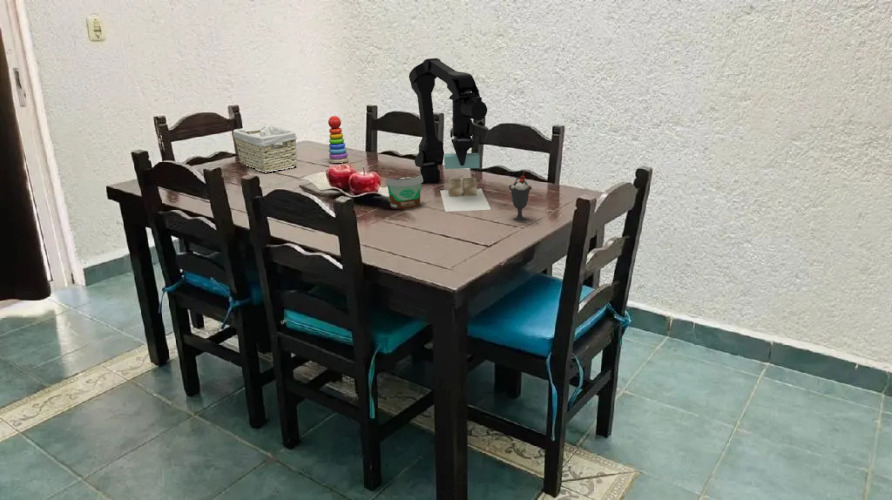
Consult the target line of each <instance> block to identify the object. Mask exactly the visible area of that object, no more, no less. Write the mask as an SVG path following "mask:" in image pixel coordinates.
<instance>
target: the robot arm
mask: <svg viewBox="0 0 892 500" xmlns="http://www.w3.org/2000/svg"><path fill="white" fill-rule="evenodd" d="M437 78H438V79H440V80H441V81H442V82H444V83H445V84H446V88H447V89H448V91H449V92H450V93H451V95H449V98H448V99H449V100H452V102H451V103H452V117H451V122H452V128H451V129H450V130H449V136H450V138H452V139H451V143H452V146H453V149H454V151H455V154H456V155H457V157H458V160H459V162H460V165H461V166H464V164H465V159H466V155H467V153H468V151H469V150H471V148H472V149H473V148H475V140H474V139H473V136H476V137H479V138H481V139H483V140H487V136H488V133H489V132H490V129H489V127H487V126H485V124H484V121H482V120H484V119H485V118H486V116H487V114H488V107H487V104H486V103H485V102H483V99H482V97H481V95H480V90H479V88H478V86H477V83H476V81H475V78H474V76H473V75H472V74H471V73H468V72H463V71H457V70H455V69H454V68H452V67H450V66H449V65H447V64H446V63H444V62H442V61H441V59H440V58H437V57H433V58H426V59H424V60H423V61H422V62H421V63H420V64H417V65H416V66H414V67H412V69H411V71H410V72H409V75H408V80H409V82H410V87H411V89H412V90H413V92H414V94H416V96H417V105H418V113H419V121H420V131H421V136H422V137H421V140H420V142H419V144H418V153H417V155H416V156H415V158H414V165H415V166H416V167H417V168H419V173H421V175H422V178H423V182H422V183H421V185H432V184H433V185H435V184H440V182H441V170H440V168H439V166H443V163H444V154H445V150H444V143H443V140H441V139H439V138H438V136H437V130H436V123H435V121H436V120H435V114H434V112H435V111H434V105H433V103H434V102H433V97H432V96H433V95H432V94H433V91H434V89H435V87H436V79H437ZM473 120H475V121H476V122H473Z"/></svg>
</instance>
